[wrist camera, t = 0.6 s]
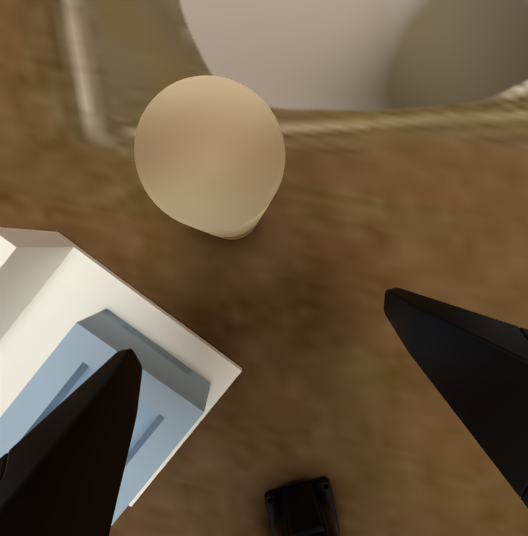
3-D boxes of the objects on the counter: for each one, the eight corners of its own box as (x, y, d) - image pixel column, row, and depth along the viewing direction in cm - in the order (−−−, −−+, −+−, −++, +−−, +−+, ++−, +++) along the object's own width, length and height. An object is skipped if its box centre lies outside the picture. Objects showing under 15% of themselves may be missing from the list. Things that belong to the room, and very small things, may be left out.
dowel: (264, 234, 23) (297, 215, 9) (208, 244, 23) (153, 242, 9) (253, 177, 22) (270, 65, 9) (196, 187, 22) (117, 87, 8)
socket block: (210, 383, 23) (204, 412, 19) (134, 477, 23) (111, 525, 19) (106, 308, 22) (76, 322, 18) (26, 408, 22) (-22, 445, 18)
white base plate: (241, 368, 24) (241, 408, 18) (133, 500, 24) (97, 584, 18) (58, 231, 22) (-13, 226, 16) (-59, 379, 22) (-173, 429, 16)
